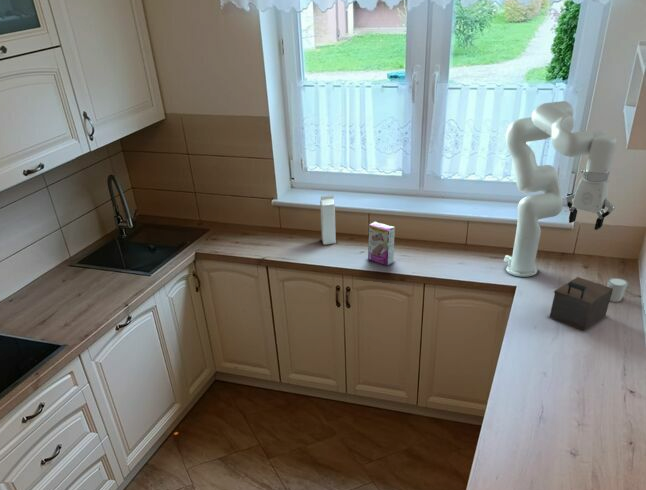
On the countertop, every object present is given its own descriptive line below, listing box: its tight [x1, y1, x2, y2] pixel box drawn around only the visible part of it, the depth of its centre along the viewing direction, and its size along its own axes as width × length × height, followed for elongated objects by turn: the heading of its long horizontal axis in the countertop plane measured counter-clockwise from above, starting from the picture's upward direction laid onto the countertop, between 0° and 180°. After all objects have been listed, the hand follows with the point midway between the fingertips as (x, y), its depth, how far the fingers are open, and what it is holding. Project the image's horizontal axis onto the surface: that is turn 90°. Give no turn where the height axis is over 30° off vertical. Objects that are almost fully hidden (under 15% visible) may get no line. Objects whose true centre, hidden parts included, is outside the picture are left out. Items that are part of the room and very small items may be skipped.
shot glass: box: [606, 277, 629, 303], centre depth 227 cm, size 7×7×7 cm
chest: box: [549, 291, 612, 332], centre depth 216 cm, size 15×14×10 cm
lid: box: [553, 276, 613, 305], centre depth 211 cm, size 16×14×5 cm
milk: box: [319, 195, 337, 245], centre depth 279 cm, size 6×6×22 cm
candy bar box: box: [367, 221, 396, 266], centre depth 260 cm, size 11×5×16 cm, turn 49°
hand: (584, 225), depth 210 cm, fingers open, 9 cm apart
